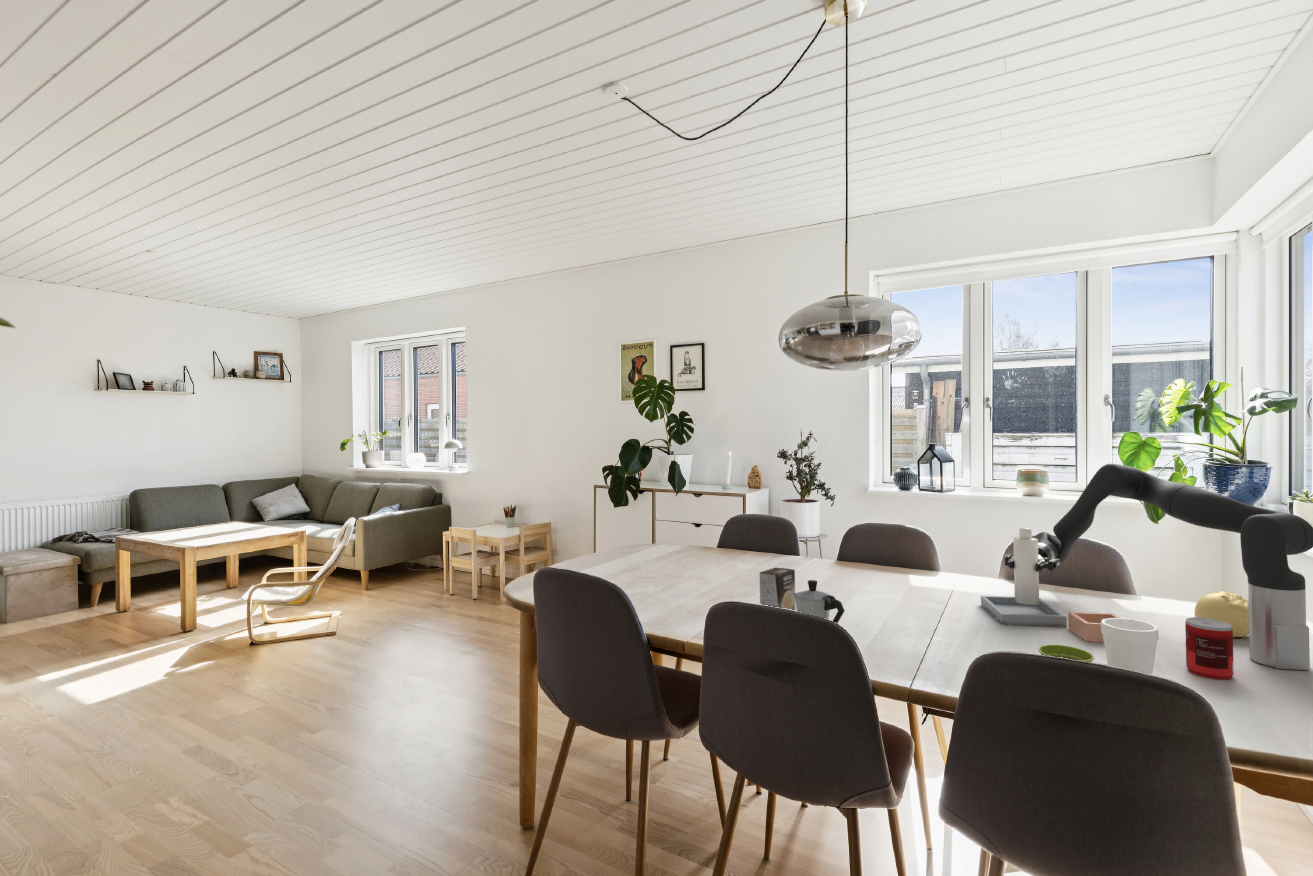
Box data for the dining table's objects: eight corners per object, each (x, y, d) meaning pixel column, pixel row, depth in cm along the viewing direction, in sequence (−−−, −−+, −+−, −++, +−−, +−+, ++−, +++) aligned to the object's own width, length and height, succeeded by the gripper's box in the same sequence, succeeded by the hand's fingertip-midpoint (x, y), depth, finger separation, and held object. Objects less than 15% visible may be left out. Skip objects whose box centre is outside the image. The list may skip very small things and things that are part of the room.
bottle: (1042, 605, 176) (1041, 529, 176) (1018, 604, 177) (1017, 529, 177) (1034, 599, 182) (1033, 526, 182) (1011, 598, 183) (1010, 526, 183)
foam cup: (1140, 679, 134) (1138, 618, 134) (1171, 697, 125) (1169, 631, 125) (1092, 678, 135) (1091, 617, 135) (1119, 696, 126) (1118, 631, 126)
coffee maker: (782, 652, 156) (780, 579, 156) (803, 644, 162) (802, 573, 162) (833, 668, 145) (831, 589, 145) (855, 658, 150) (853, 583, 150)
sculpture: (1261, 644, 153) (1260, 600, 153) (1196, 636, 160) (1195, 593, 160) (1254, 632, 162) (1253, 590, 162) (1193, 624, 169) (1192, 584, 169)
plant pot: (1084, 687, 130) (1083, 646, 130) (1103, 707, 121) (1102, 662, 121) (1033, 684, 133) (1032, 643, 133) (1047, 702, 124) (1046, 658, 124)
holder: (1133, 643, 156) (1133, 625, 156) (1086, 641, 158) (1085, 623, 158) (1113, 630, 166) (1112, 613, 166) (1068, 628, 168) (1068, 612, 168)
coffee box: (780, 635, 169) (779, 575, 169) (759, 630, 173) (758, 572, 173) (796, 626, 176) (795, 569, 176) (776, 622, 180) (774, 566, 180)
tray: (1066, 626, 170) (1066, 616, 170) (1001, 624, 174) (1001, 614, 174) (1039, 606, 190) (1038, 597, 190) (981, 605, 193) (980, 595, 193)
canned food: (1209, 665, 140) (1208, 616, 140) (1244, 679, 132) (1243, 627, 132) (1176, 667, 140) (1175, 617, 140) (1209, 681, 132) (1208, 628, 132)
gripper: (1010, 541, 195) (995, 550, 182) (1065, 546, 185) (1053, 556, 173) (1011, 566, 195) (996, 576, 183) (1066, 572, 185) (1054, 583, 173)
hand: (1024, 566), depth 178 cm, fingers closed on bottle, 6 cm apart
